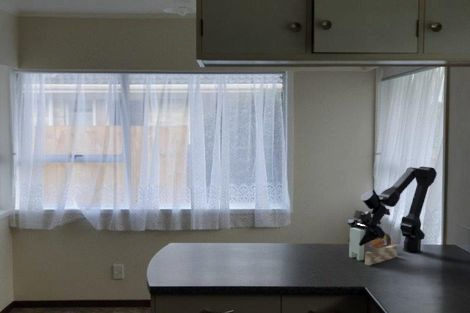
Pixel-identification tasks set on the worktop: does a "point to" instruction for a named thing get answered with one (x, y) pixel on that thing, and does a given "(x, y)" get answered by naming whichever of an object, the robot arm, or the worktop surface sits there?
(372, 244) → the tin
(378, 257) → the beige long bar piece
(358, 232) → the sage block
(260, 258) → the worktop surface
